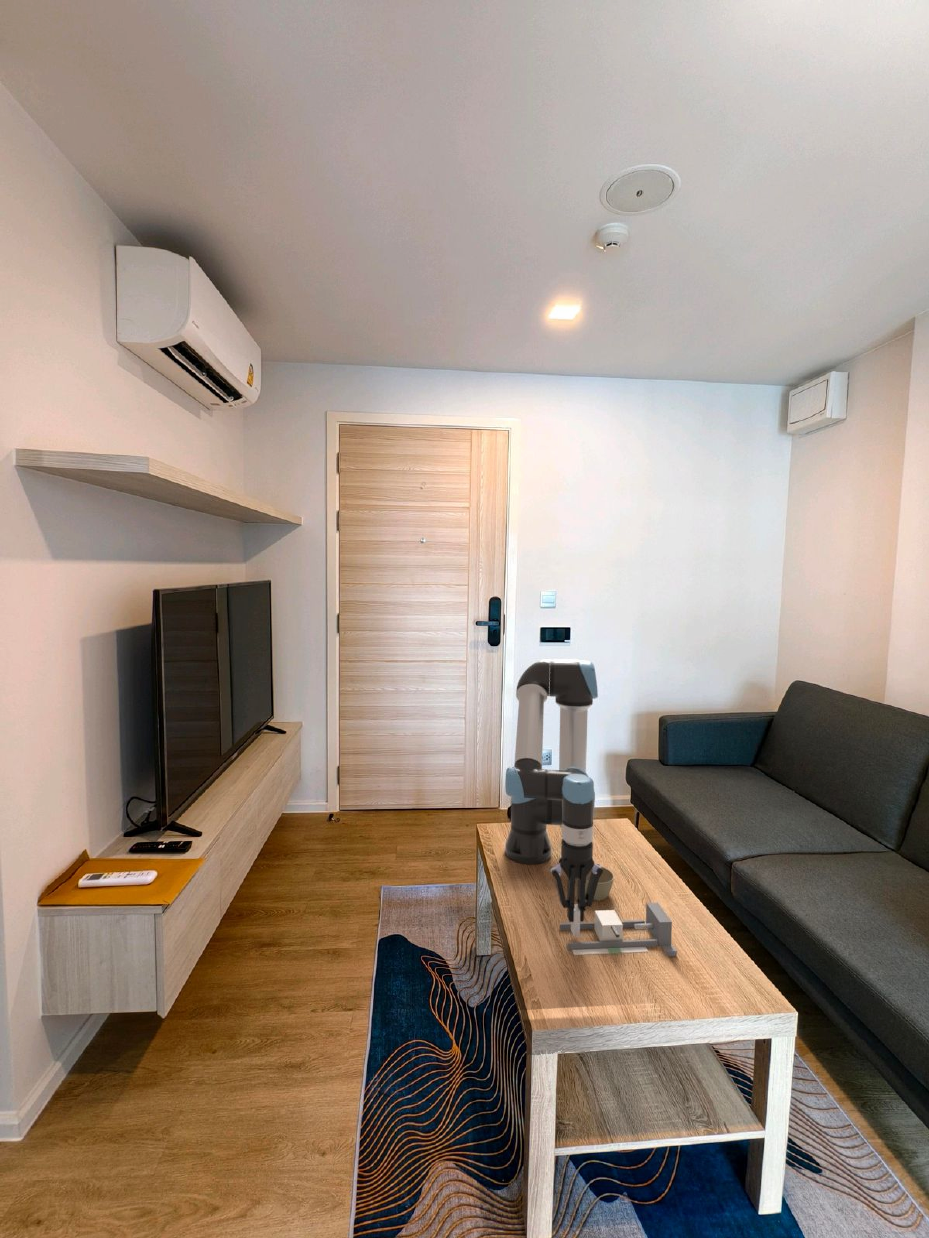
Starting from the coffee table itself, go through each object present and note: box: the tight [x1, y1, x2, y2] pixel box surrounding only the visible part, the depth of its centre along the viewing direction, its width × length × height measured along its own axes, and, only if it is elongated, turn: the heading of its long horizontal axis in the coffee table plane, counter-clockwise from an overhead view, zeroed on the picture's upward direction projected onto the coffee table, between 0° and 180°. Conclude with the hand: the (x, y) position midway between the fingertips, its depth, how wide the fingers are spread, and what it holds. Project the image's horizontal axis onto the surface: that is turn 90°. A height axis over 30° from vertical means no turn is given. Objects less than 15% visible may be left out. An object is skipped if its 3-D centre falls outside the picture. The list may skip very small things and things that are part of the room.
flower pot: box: [585, 866, 615, 901], centre depth 154 cm, size 10×10×7 cm
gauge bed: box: [558, 902, 678, 957], centre depth 135 cm, size 12×28×7 cm, turn 94°
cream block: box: [594, 909, 624, 941], centre depth 134 cm, size 10×5×5 cm, turn 4°
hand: (575, 932), depth 135 cm, fingers closed
